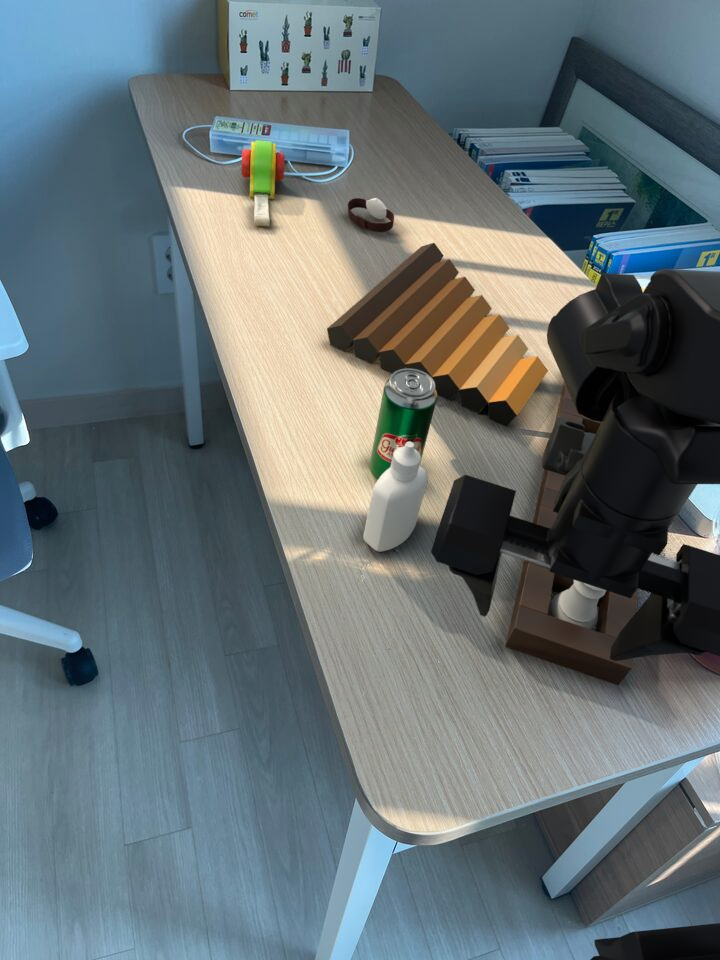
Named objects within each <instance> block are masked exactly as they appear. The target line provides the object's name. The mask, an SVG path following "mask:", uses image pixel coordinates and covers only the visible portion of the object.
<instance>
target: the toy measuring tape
mask: <svg viewBox="0 0 720 960" xmlns="http://www.w3.org/2000/svg"><path fill="white" fill-rule="evenodd" d="M240 170H241V176H242V177H243V178H246V179H247V178H249V197H250V198H253V199H254V209H253V212H254V213H253V216H254V217H253V219H254V225H255V226H256V227H268V228H269V227H270V222H271V221H270V212H269V211H270V210H269V200H274V199H275V196H276V195H275V193H276V181H277V182H281V181H283V180H284V176H285V154H284V153H283V152H280V151H279V152H278V151H277V144H276V143H274V142H272V141H270V140H269V141H268V140H262V139H261V140H259V139H255V141H251V142H250V148H244V149H242V151H241V169H240Z"/></svg>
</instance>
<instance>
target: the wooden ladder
mask: <svg viewBox="0 0 720 960" xmlns="http://www.w3.org/2000/svg"><path fill="white" fill-rule="evenodd" d="M559 397H560V398H559V402H558V407H557V411H556V415H555V420H554V425H555V423H556V421H557V419H558V417H560V418H563V419H567V420H570V421H573V422H577V423H580V424H583V425H584V427H585V429H584V432H588V433H594V434H596V433H597V431H598V429H599V427H600V424H601V422H599V421H594V420H591V419H589V418H587V417H585V416H583V415H581V414H579V413H578V411H577V409H576V407H575V404H574V402H573V400H572V398H571V395H570V393H569V391H568V389H567V386H566V384H565V382H564V381H563V384H562V388H561V393H560V396H559ZM554 425H553V426H554ZM564 478H565V476H564V475H561V474H558V473H555V472H552V471H548V470H545V469H543V473H542V479H541V483H540V487H539V492H538V495H537V501H536V506H535V510H534V514H533V519H532V523H535V524H538V525H541V526H544V527H547V528H550V529H551V527H552V525H553V523H554V521H555V518H556V516H557V514H558V513H556V512H553V507H554V502H555V498H556V496H557V493H558V491H559V489H560V487H561V485H562V483H563V481H564ZM549 571H550V569H549V568H546V567H543V566H540V565H537V564H534V563H531V562H528V561H525V560H523V564H522V569H521V573H520V576H519V577H520V578H519V583H518V587H517V591H516V596H515V601H514V604H513V609H512V613H511V618H510V624H509V626H508V632H507V637H506V641H505V648H508V649H511V650H514V651H517V652H519V653H522V654H526V655H529V656H532V657H534V658H538V659H540V660H543V661H546V662H549V663H552V664H555V665H558V666H560V667H564V668H566V669H569V670H572V671H575V672H578V673H581V674H584V675H586V676H588V677H593V678H595V679H597V680H601V681H604V682H607V683H610V684H613V685H616V686H620V685H621V683H622V682H623V681H624V680H625V679H626V677H627V676H628V674H629V673H630V672H631V670H632V669H633V660H634V658H632V659H626V660H620V661H613V660H611V659H610V652H611V647H612V645H613V643H614V641H615V639H616V638H617V636H618V634H619V633H620V631H621V630H622V629H623V628H624V627H625V625H626V624H627V623H628V622H629V620H630V619H631V618H632V617H633V615H634V614H635V613H636V612H637V611H638V600H639V598H638V597H639V589H637V590H636V591H635V593H634V594H633V596H632V597H631V598H628V597H625V596H622V595H619V594H616V593H613V592H610V591H607V590H606V593H605V595H604V596H602V597H601V598H599V600H598V603H597V610H598V621H597V624H596V626H595V629H594V630H591V629H588V628H585V627H582V626H579V625H576V624H573V623H570V622H567V621H564V620H561V619H558V618H555V617H552V616H549V615H547V613H548V608H549V603H550V602H551V596H552V593H555V594H559V593H560V592H562V591H565V590H567V589H569V588H570V587H571V586H572V585H573V584H574V580H573V579H570V578H567V577H564V576H561V575H558V574H555V573H552V572H549Z"/></svg>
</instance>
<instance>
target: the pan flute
mask: <svg viewBox="0 0 720 960" xmlns="http://www.w3.org/2000/svg"><path fill="white" fill-rule="evenodd" d="M443 258H444V254H443V253H442V251H441V250H440V248H439V247H438V246H437V244H436V243H435V242H432V243H428V244H424V245H421V246H420V247H419V248H418V249H416V251H414V252H413V253H412V254H411V255H410V256H408V257H407V258H406V259H405V260H404V261H402V263H401V264H399V265H398V266H397V267H396V268H394V270H392V271H391V272H390V273H389V274H388V275H387V276H386V277H385V278H383V279H382V280H381V281H380V282H379V283H378V284H376V285H375V286H374V287H373V288H371V290H369V291H368V292H367V293H366V294H365V295H364V296H362V297H361V298H360V299H359V300H358V301H357V302H356V303H354V305H352V306H351V307H350V308H349V309H348V310H347V311H345V312H344V313H343V314H342V315H341V316H339V318H337V319H336V320H334V322H333V323H332V324H331V325H329V326H328V327H327V328H326V331H327V337H328V342H329V346H331V347H333V348H335V349H338V350H339V351H342V352H344V353H346V352H348V351H349V350H350V349H351V348H352V347H353V352H354V357H355V358H356V359H359V360H361V361H363V362H366V363H368V364H370V365H372V364H373V363H374V362H375V361H376V360H377V359H379V365H380V366H379V367H380V369H381V370H383V371H385V372H387V373H390V374H391V375H392V374H393V373H394V372H396V371H397V370H400V369H406V368H410V369H417V370H420V371H423V372H425V373H426V374H428V375H429V376H430V377H431V378H432V379H433V380H434V382H435V387H436V388H435V389H436V391H437V396H439V397H441V398H443V399H445V400H448V401H450V402H451V401H452V400H453V399H454V398H455V396H456V395H457V394H458V393H459V397H460V398H459V399H460V406H461V407H462V408H465V409H467V410H469V411H472V412H474V413H476V414H479V413H481V411H482V410H484V408H485V407H486V405H487V406H488V409H487V410H488V419H489V420H490V421H493V422H494V423H498V424H499V425H502V426H504V427H506V428H507V427H508V426H509V425H510V424H511V423H512V422H513V421H515V419H516V418H517V416H518V415H519V414H520V413H521V411H522V410H523V408H524V406H525V405H526V404H527V403H528V401H529V399H530V398H531V397H532V395H533V394H534V392H535V391H536V389H537V388H538V386H539V385H540V384H541V382H542V381H543V379H544V378H545V376H546V374H547V373H548V372H549V369H548V368H547V367H546V365H545V363H544V362H543V361H542V360H541V358H540V357H539V356H537V355H536V356H530V357H524V355H525V354H526V353H527V352H528V350H529V347H528V346H527V345H526V343H525V342H524V340H523V339H522V338H521V337H520V335H519V334H514V335H508V336H505V335H506V334H507V332H508V331H509V330H510V326H509V325H508V323H507V322H506V321H505V319H504V318H503V317H502V315H501V314H500V313H499V314H494V315H489V314H490V312H491V311H492V309H493V308H492V307H491V305H490V304H489V302H488V301H487V300H486V299H485V297H484V296H483V294H480V295H476V296H472V295H473V294H474V292H475V291H476V289H475V288H474V286H473V285H472V283H470V281H469V280H468V279H467V277H466V276H462V277H458V275H459V274H460V272H459V270H458V269H457V268H456V266H455V265H454V263H453V261H451V260H450V259H449V258H448V259H445V260H442V259H443ZM457 277H458V278H457Z"/></svg>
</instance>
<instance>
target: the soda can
mask: <svg viewBox="0 0 720 960" xmlns="http://www.w3.org/2000/svg"><path fill="white" fill-rule="evenodd" d="M435 388H436V387H435V382H434V380H433V379H432V378H431V377H430V376H429V375H428V374H426V373H425V372H423V371H420V370H417V369H410V368H406V369H405V368H404V369H400V370H397V371H396V372H394V373H393V374H391V375H390V377H389V379H387V381H385V383H384V385H383V391H382V396H381V402H380V407H379V412H378V417H377V423H376V428H375V433H374V439H373V444H372V449H371V455H370V459H369V471H370V473H371V475H372V476H373V477H374V479H376V481H378V479H379V478H380V476H381V475H382V474H383V473H384V472H385V471H386V470H387V469H389V468H390V467H391V462H392V458H393V453H394V451H395V450H396V449H397V448H399V447H404V446H405V444H406V443H407V442H412V443H413V444H414V449H415V450H417V451H418V452H419V454H420V456H421V461H420V464H421V462H422V459H423V455H424V451H425V447H426V445H427V444H426V443H427V439H428V436H429V431H430V428H431V423H432V419H433V416H434V412H435V408H436V404H437V400H438V395H437V391H436V389H435Z"/></svg>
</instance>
